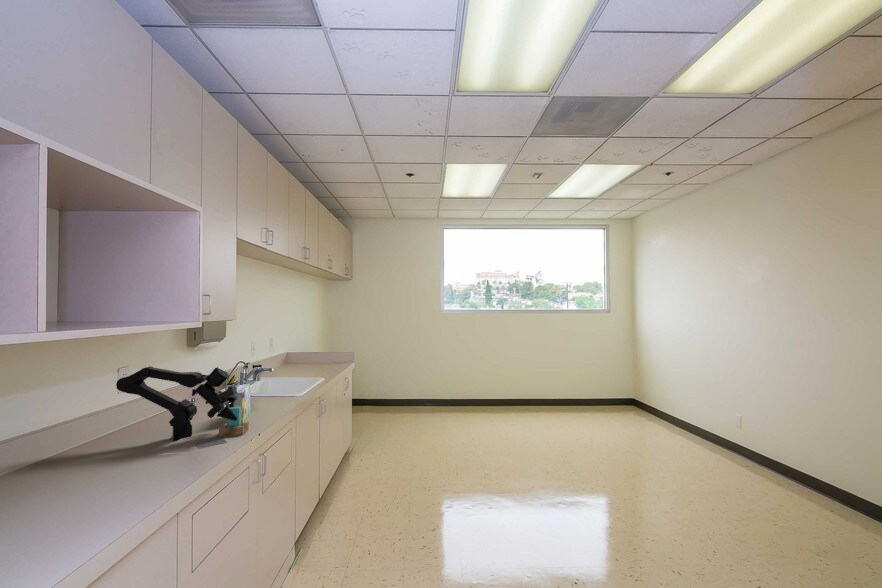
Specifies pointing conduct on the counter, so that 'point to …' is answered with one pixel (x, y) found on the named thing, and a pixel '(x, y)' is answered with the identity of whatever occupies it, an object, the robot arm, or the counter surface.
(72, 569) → the counter surface
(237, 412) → the teal block
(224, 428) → the slot box
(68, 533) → the counter surface
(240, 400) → the snack box
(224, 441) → the rubber mat
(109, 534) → the counter surface
